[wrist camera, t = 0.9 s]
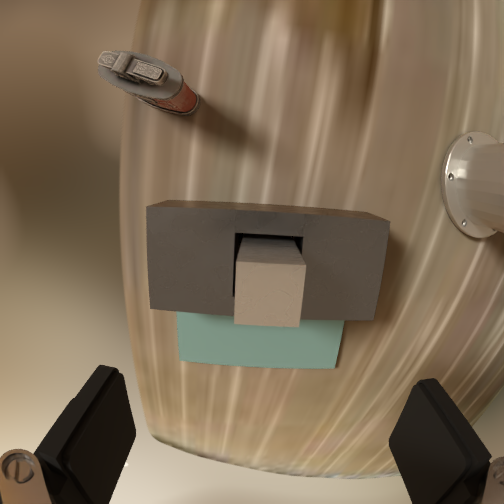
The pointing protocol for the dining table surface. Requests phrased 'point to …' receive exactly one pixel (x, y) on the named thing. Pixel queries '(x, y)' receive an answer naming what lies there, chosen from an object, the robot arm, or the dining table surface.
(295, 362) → the mat
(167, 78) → the lighter
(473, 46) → the dining table surface
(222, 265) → the rail
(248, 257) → the peg
